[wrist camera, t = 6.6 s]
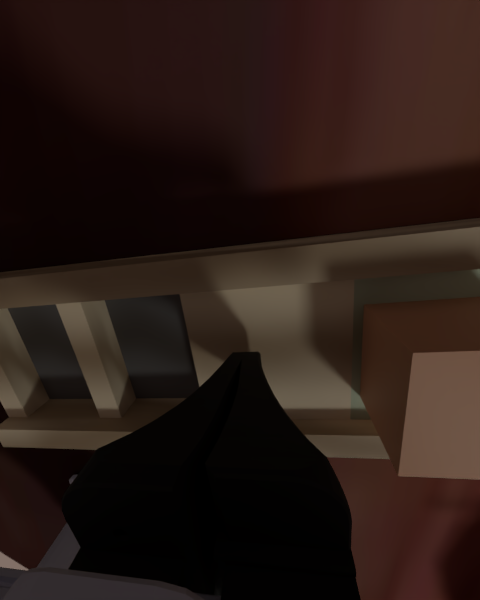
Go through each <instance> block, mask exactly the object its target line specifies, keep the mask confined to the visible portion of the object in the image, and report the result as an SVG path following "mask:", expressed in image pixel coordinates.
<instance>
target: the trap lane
mask: <svg viewBox="0 0 480 600" xmlns="http://www.w3.org/2000/svg"><path fill="white" fill-rule="evenodd" d="M469 297H480V218H474V219H465V220H457V221H448V222H439V223H430V224H421V225H413V226H404V227H395V228H386V229H377V230H369V231H360V232H351V233H342V234H333V235H324V236H316V237H307V238H298V239H289V240H280V241H272V242H263V243H254V244H245V245H236V246H228V247H219V248H210V249H201V250H192V251H184V252H175V253H166V254H157V255H148V256H139V257H131V258H122V259H113V260H104V261H95V262H87V263H78V264H69V265H60V266H51V267H43V268H34V269H25V270H16V271H7V272H0V401H1V403H2V405H3V407H4V409H5V411H6V412H7V414H8V416H9V418H7V419H6V420H5V421H4V422H2V423H1V424H0V442H1V444H2V446H3V447H23V448H55V449H87V450H97V449H98V448H100V447H102V446H105V445H107V444H109V443H111V442H113V441H115V440H117V439H120V438H122V437H124V436H126V435H128V434H130V433H132V432H134V431H136V430H138V429H140V428H141V427H143V426H145V425H147V424H149V423H150V422H152V421H154V420H155V419H157V418H159V417H160V416H162V415H163V414H165V413H166V412H168V411H169V410H171V409H172V408H174V407H175V406H177V405H178V404H180V403H181V402H182V401H184V400H185V399H186V398H187V397H189V396H190V395H191V394H192V393H194V392H195V391H196V390H197V389H198V388H199V387H200V386H201V385H202V384H203V383H204V382H206V381H207V380H208V379H209V378H210V377H211V376H212V375H213V373H214V372H215V371H216V370H217V369H218V368H219V367H220V366H221V365H222V364H223V363H224V361H225V360H226V359H227V358H228V357H229V356H230V355H231V354H232V353H233V352H257V351H258V352H259V353H260V354H261V363H262V369H263V372H264V374H265V377H266V379H267V381H268V384H269V386H270V388H271V390H272V392H273V393H274V395H275V397H276V399H277V400H278V402H279V403H280V405H281V406H282V408H283V409H284V411H285V412H286V414H287V415H288V416H289V417H290V419H291V420H292V421H293V422H294V424H295V425H296V426H297V427H298V429H299V430H300V431H301V432H302V433H303V434H304V435H305V436H306V437H307V438H308V440H309V441H310V442H311V443H312V444H313V445H315V446H316V447H317V448H318V449H319V450H320V451H321V452H322V453H323V454H324V455H325V456H326V457H344V458H376V459H390V458H389V456H388V454H387V452H386V450H385V447H384V445H383V443H382V441H381V439H380V437H379V435H378V433H377V431H376V429H375V427H374V424H373V422H372V420H371V418H370V416H369V414H368V412H367V410H366V408H365V406H364V404H363V402H362V399H361V397H360V383H361V360H362V336H363V313H364V304H379V303H394V302H409V301H424V300H439V299H454V298H469Z"/></svg>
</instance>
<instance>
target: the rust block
mask: <svg viewBox="0 0 480 600" xmlns="http://www.w3.org/2000/svg"><path fill="white" fill-rule="evenodd" d="M360 397H361V399H362V402H363V404H364V406H365V408H366V410H367V412H368V414H369V416H370V418H371V420H372V422H373V424H374V427H375V429H376V431H377V433H378V435H379V437H380V439H381V441H382V443H383V445H384V447H385V450H386V452H387V454H388V456H389V458H390V460H391V462H392V464H393V466H394V468H395V470H396V472H397V475H398V476H408V477H432V478H456V479H480V297H469V298H454V299H439V300H424V301H409V302H394V303H379V304H364V313H363V336H362V360H361V383H360Z"/></svg>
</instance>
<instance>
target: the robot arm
mask: <svg viewBox="0 0 480 600" xmlns="http://www.w3.org/2000/svg"><path fill="white" fill-rule="evenodd" d="M69 483H70V486H69V487H68V488H67V490H66V491H65V493H64V495H63V497H62V512H63V514H64V517H65V520H66V521H67V523H66V525H65V526H64V528H63V529H62V531H61V532H60V534H59V535H58V537H57V538H56V540H55V541H54V543H53V544H52V546H51V547H50V548H49V550H48V551H47V553H46V554H45V556H44V557H43V559H42V560H41V562H40V563H39V565H38V566H37V568H32V569H30V570H28V571H25V570H17V569H10V568H2V567H0V600H360V595H359V591H358V587H357V582H356V578H355V577H356V569H355V564H354V560H353V556H352V551H351V529H352V519H351V512H350V508H349V505H348V502H347V500H346V497H345V494H344V492H343V489H342V487H341V485H340V482H339V480H338V478H337V476H336V474H335V472H334V470H333V468H332V466H331V465H330V463H329V461H328V459H327V457H326V456H325V455H324V454H323V453H322V452H321V451H320V450H319V449H318V448H317V447H316V446H315V445H313V444H312V443H311V442H310V441H309V440H308V438H307V437H306V436H305V435H304V434H303V433H302V432H301V431H300V430H299V429H298V427H297V426H296V425H295V424H294V422H293V421H292V420H291V419H290V417H289V416H288V415H287V414H286V412H285V411H284V409H283V408H282V406H281V405H280V403H279V402H278V400H277V399H276V397H275V395H274V393H273V392H272V390H271V388H270V386H269V384H268V381H267V379H266V377H265V374H264V372H263V369H262V363H261V354H260V353H259V352H258V351H257V352H233V353H232V354H231V355H230V356H229V357H228V358H227V359H226V360H225V361H224V363H223V364H222V365H221V366H220V367H219V368H218V369H217V370H216V371H215V372H214V373H213V375H212V376H211V377H210V378H209V379H208V380H207V381H206V382H204V383H203V384H202V385H201V386H200V387H199V388H198V389H197V390H196V391H195V392H194V393H192V394H191V395H190V396H189V397H187V398H186V399H185V400H184V401H182V402H181V403H180V404H178V405H177V406H175V407H174V408H172V409H171V410H169V411H168V412H166V413H165V414H163V415H162V416H160V417H159V418H157V419H155V420H154V421H152V422H150V423H149V424H147V425H145V426H143V427H141V428H140V429H138V430H136V431H134V432H132V433H130V434H128V435H126V436H124V437H122V438H120V439H117V440H115V441H113V442H111V443H109V444H107V445H105V446H102V447H100V448H98V449H97V450H96V451H95V453H94V454H93V455H92V457H91V458H90V459H89V461H88V462H87V463H86V465H85V466H84V467H83V469H82V470H81V471H80V473H79V474H78V475H73V476H72V477H71V478H70V479H69Z"/></svg>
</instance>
